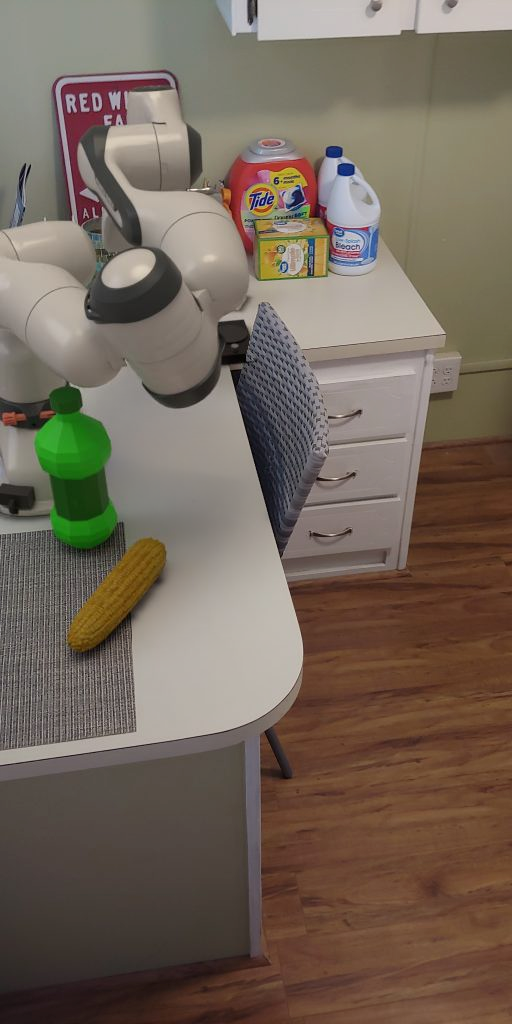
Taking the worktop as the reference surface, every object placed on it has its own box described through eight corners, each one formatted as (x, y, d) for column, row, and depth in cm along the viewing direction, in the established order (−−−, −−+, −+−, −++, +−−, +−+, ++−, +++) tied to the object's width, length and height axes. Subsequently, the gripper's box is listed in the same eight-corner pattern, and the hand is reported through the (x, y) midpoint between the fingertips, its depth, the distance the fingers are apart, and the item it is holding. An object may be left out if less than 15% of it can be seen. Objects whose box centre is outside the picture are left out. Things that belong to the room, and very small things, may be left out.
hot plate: (256, 361, 180) (256, 347, 178) (174, 369, 178) (174, 355, 176) (244, 328, 191) (243, 314, 189) (166, 335, 189) (165, 321, 187)
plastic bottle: (40, 554, 136) (12, 409, 121) (70, 511, 144) (47, 370, 128) (104, 566, 134) (83, 421, 118) (131, 521, 142) (115, 380, 126)
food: (140, 557, 136) (136, 526, 132) (174, 568, 134) (171, 536, 130) (59, 655, 121) (53, 623, 117) (97, 669, 119) (91, 636, 115)
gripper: (219, 179, 155) (221, 258, 164) (96, 188, 152) (104, 267, 161) (225, 192, 150) (227, 273, 159) (98, 202, 147) (107, 283, 156)
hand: (164, 270), depth 160 cm, fingers open, 8 cm apart
